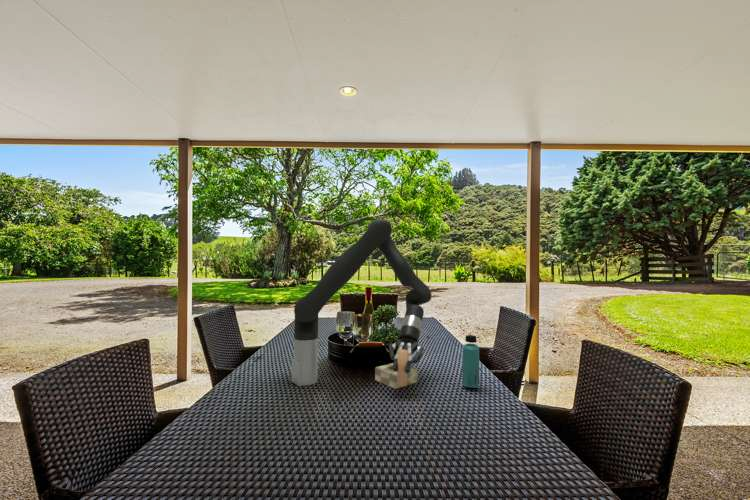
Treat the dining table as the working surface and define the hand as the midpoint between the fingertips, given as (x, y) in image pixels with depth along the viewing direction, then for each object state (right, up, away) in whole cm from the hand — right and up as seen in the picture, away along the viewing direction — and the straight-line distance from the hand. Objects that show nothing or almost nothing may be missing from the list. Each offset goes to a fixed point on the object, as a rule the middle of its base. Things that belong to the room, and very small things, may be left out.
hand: (400, 371), depth 130 cm
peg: (+1, -5, +2) cm, 6 cm away
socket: (-1, -10, +18) cm, 20 cm away
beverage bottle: (+27, -10, +11) cm, 31 cm away
